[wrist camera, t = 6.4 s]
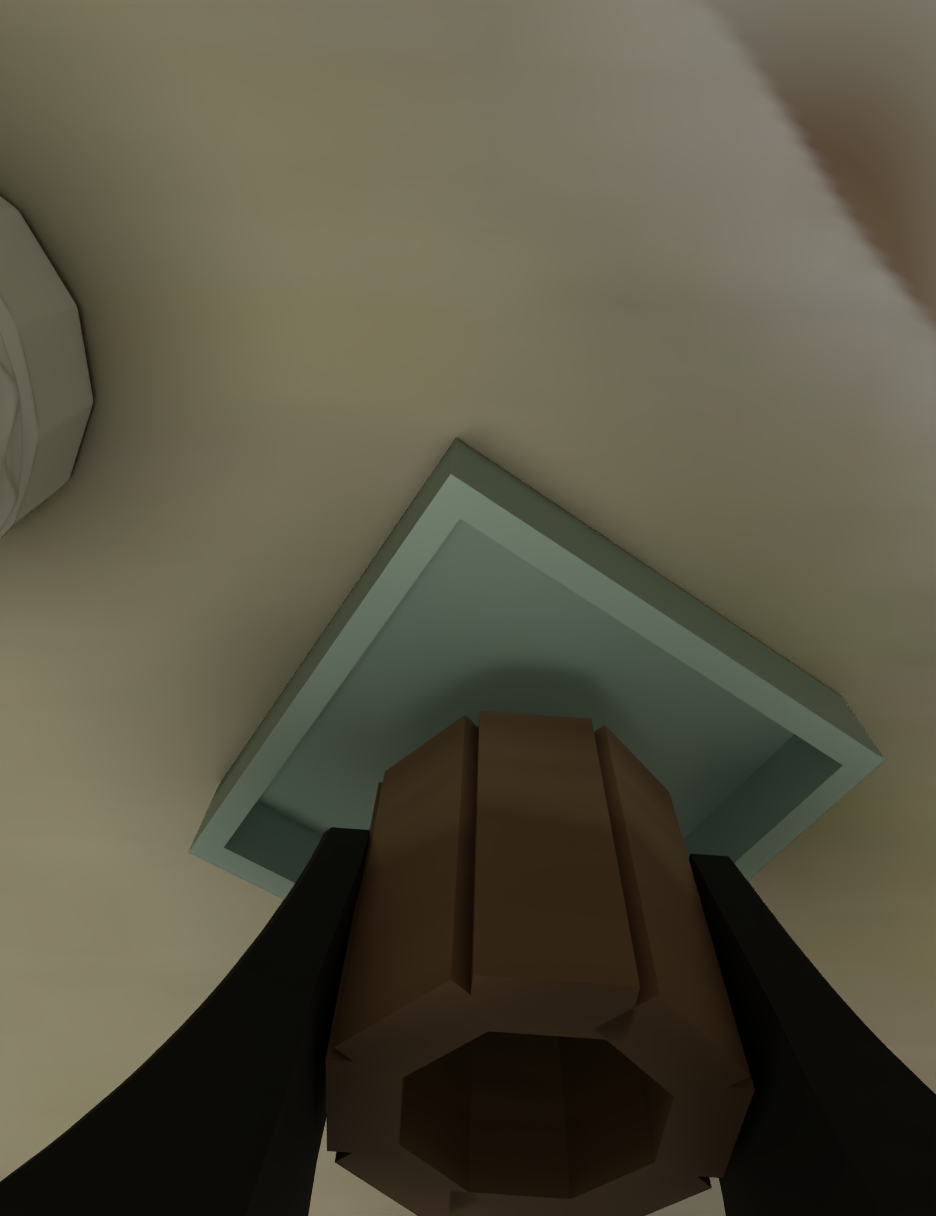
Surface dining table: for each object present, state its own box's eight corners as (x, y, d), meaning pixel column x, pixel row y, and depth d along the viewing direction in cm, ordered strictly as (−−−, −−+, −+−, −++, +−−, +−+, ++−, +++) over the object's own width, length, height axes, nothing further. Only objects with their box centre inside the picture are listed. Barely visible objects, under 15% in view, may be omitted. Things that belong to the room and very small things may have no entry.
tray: (841, 696, 16) (885, 759, 14) (561, 960, 20) (568, 1037, 18) (456, 437, 14) (451, 474, 12) (219, 785, 17) (187, 852, 16)
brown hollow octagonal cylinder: (380, 703, 13) (324, 964, 9) (690, 726, 13) (788, 997, 9) (374, 961, 16) (328, 1259, 12) (631, 979, 16) (684, 1283, 12)
